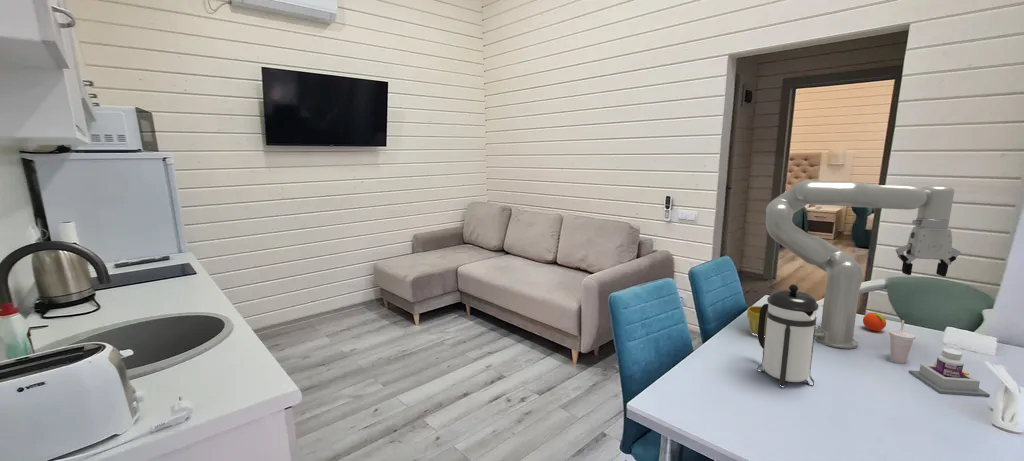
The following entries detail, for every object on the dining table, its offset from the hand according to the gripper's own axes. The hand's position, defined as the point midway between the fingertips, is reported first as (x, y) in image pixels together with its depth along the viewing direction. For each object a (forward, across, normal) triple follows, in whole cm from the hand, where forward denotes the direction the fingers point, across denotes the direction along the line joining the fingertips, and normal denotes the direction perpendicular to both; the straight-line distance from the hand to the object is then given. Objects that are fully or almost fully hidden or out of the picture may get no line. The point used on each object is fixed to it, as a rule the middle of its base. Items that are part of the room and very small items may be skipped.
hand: (923, 274), depth 139 cm
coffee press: (+29, -49, -24) cm, 62 cm away
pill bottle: (+28, -3, -20) cm, 34 cm away
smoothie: (+28, -7, -7) cm, 30 cm away
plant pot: (+29, -44, +8) cm, 53 cm away
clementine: (+28, 0, +20) cm, 35 cm away
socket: (+28, -3, -20) cm, 35 cm away
